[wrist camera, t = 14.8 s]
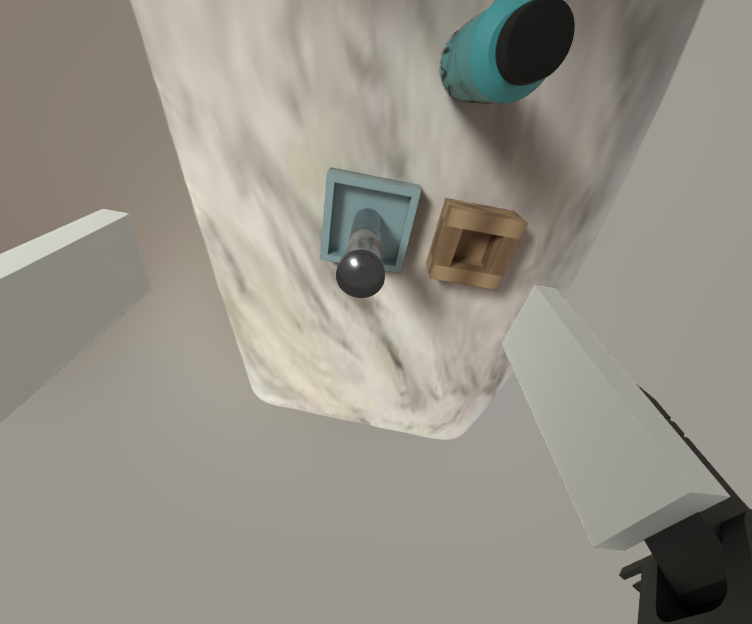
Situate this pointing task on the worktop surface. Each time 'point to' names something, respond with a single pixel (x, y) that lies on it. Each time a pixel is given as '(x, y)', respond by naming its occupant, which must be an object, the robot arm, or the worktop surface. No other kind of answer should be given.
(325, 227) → the tray
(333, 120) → the worktop surface
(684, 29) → the worktop surface
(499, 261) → the socket block
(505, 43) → the beverage bottle
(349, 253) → the steel pin
